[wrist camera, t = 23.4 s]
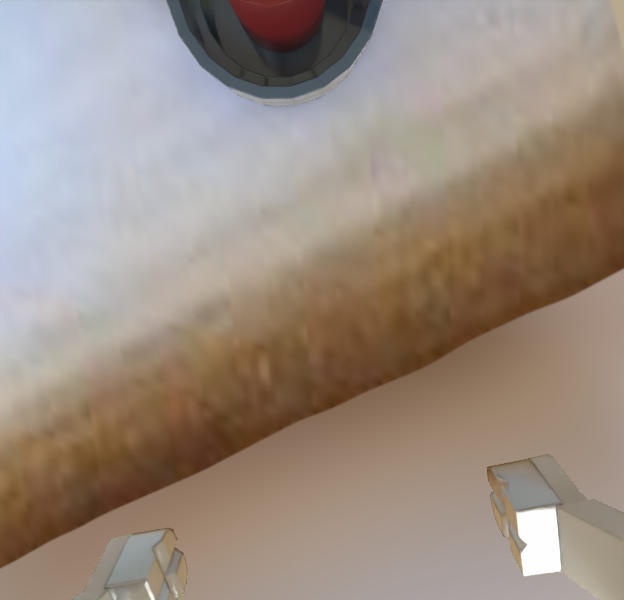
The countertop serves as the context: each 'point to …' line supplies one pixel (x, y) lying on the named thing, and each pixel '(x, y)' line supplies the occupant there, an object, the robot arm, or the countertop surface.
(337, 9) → the bowl
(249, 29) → the can
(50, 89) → the countertop surface
